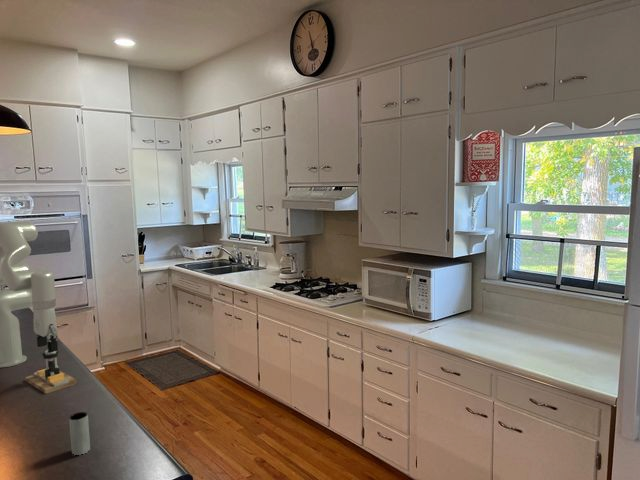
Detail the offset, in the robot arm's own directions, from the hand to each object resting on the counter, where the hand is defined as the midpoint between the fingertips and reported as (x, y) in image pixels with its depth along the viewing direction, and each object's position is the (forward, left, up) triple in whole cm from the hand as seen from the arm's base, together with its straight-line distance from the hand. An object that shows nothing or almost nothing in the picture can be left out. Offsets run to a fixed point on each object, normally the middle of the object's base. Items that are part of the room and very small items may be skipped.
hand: (47, 348), depth 177 cm
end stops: (+1, 0, -11) cm, 11 cm away
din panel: (+1, 0, -13) cm, 13 cm away
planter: (+60, -15, -13) cm, 63 cm away
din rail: (+1, 0, -12) cm, 12 cm away
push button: (0, 0, -11) cm, 11 cm away
